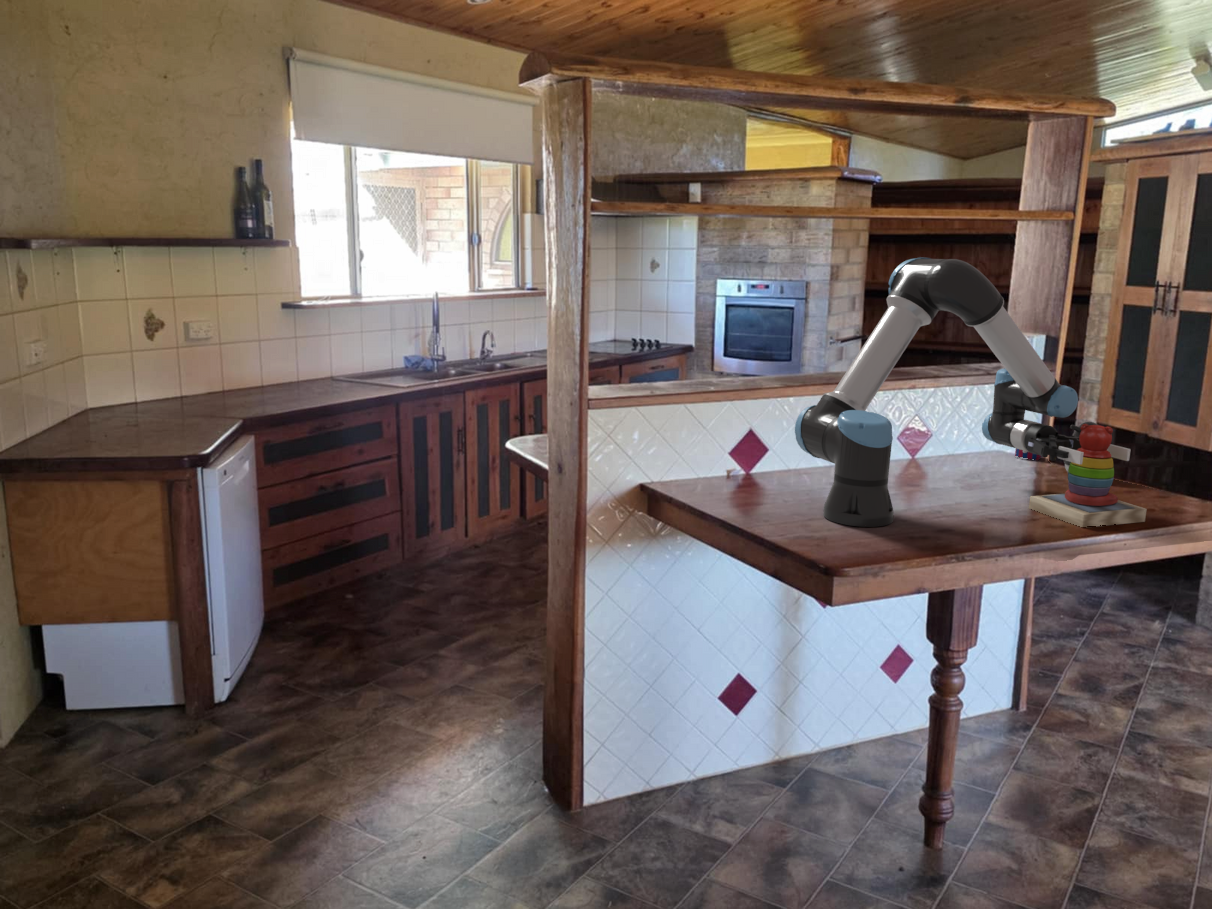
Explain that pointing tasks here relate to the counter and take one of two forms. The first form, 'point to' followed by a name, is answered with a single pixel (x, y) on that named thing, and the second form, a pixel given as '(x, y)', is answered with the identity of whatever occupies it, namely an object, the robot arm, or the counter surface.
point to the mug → (1027, 455)
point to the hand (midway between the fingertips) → (1105, 456)
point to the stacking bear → (1092, 469)
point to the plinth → (1087, 511)
